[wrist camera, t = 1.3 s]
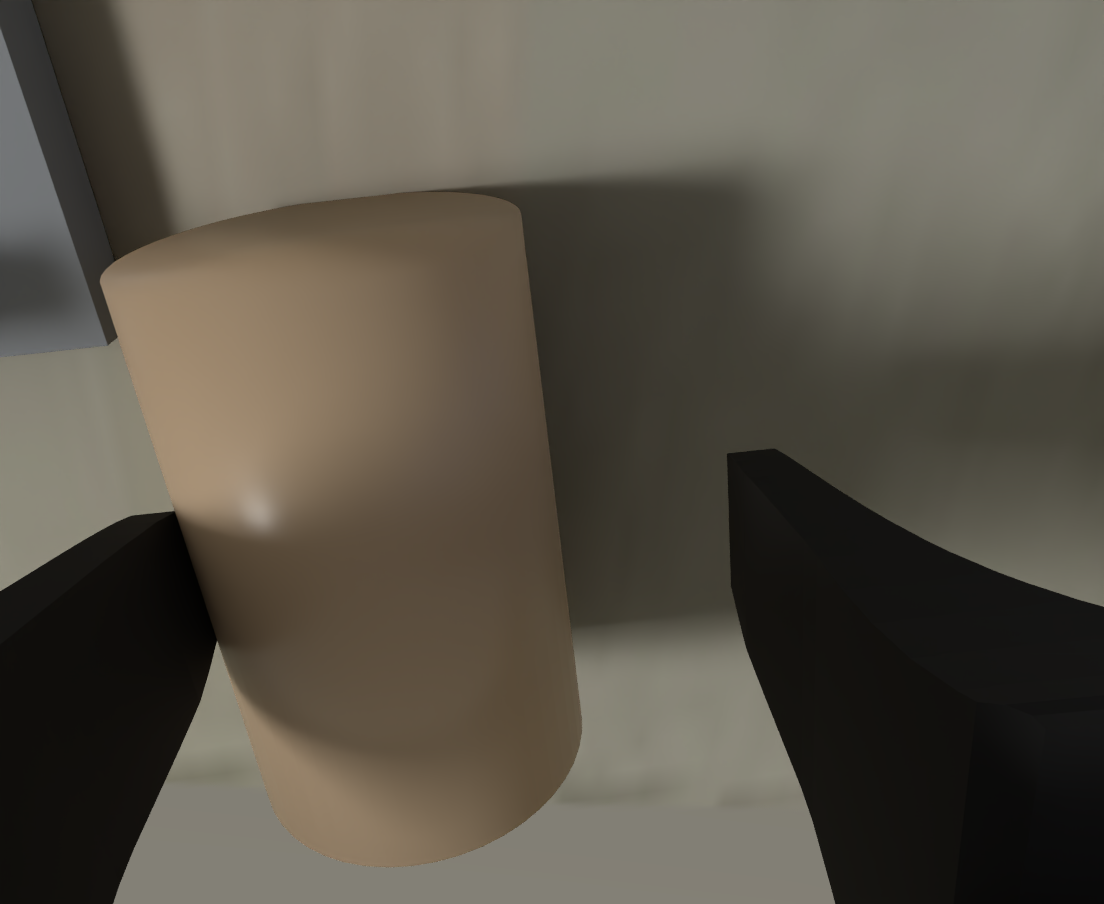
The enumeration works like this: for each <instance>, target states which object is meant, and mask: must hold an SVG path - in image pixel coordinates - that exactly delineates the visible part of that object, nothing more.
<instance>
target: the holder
mask: <svg viewBox="0 0 1104 904" xmlns="http://www.w3.org/2000/svg"><path fill="white" fill-rule="evenodd" d="M114 262H115V260H114V257H113V254H112V251H111V248H110V244H109V241H108V238H107V235H106V232H105V229H104V226H103V223H102V220H101V216H100V213H99V210H98V207H97V204H96V201H95V198H94V195H93V191H92V188H91V185H90V182H89V179H88V176H87V173H86V170H85V167H84V163H83V160H82V157H81V154H80V151H79V148H78V145H77V142H76V138H75V135H74V132H73V129H72V126H71V123H70V120H69V117H68V113H67V110H66V107H65V104H64V101H63V98H62V95H61V92H60V89H59V85H58V82H57V79H56V76H55V73H54V70H53V67H52V64H51V60H50V57H49V54H48V51H47V48H46V45H45V42H44V39H43V36H42V32H41V29H40V26H39V23H38V20H37V17H36V14H35V11H34V7H33V4H32V1H31V0H0V357H7V356H16V355H25V354H34V353H44V352H53V351H62V350H71V349H80V348H90V347H99V346H108V345H109V344H110V343H111V342H113V341H114V340H115V339H116V338H117V337H118V336H117V333H116V330H115V327H114V324H113V321H112V318H111V315H110V312H109V309H108V306H107V303H106V299H105V296H104V293H103V290H102V287H101V284H100V278H101V275H102V274H103V272H104V271H105V270H106V269H107V268H108V267H109V266H110V265H111V264H113V263H114Z"/></svg>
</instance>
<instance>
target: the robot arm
mask: <svg viewBox="0 0 1104 904" xmlns="http://www.w3.org/2000/svg"><path fill="white" fill-rule="evenodd" d="M727 466H728V499H729V533H730V566H731V587H732V592H733V596H734V600H735V604H736V609H737V613H738V617H739V621H740V625H741V629H742V633H743V637H744V641H745V645H746V649H747V652H748V654H749V657H750V659H751V662H752V665H753V667H754V670H755V672H756V675H757V677H758V680H759V683H760V685H761V688H762V690H763V693H764V695H765V698H766V700H767V703H768V705H769V708H770V710H771V713H772V715H773V718H774V721H775V723H776V726H777V728H778V731H779V733H780V736H781V738H782V741H783V743H784V746H785V748H786V751H787V753H788V756H789V758H790V761H791V763H792V766H793V768H794V771H795V773H796V776H797V778H798V781H799V783H800V786H801V788H802V791H803V794H804V797H805V800H806V803H807V806H808V809H809V812H810V815H811V817H812V821H813V824H814V828H815V831H816V835H817V838H818V842H819V846H820V849H821V853H822V857H823V860H824V864H825V867H826V871H827V875H828V878H829V882H830V885H831V889H832V893H833V896H834V900H835V904H1104V607H1102V606H1099V605H1095V604H1091V603H1088V602H1084V601H1081V600H1077V599H1074V598H1071V597H1068V596H1065V595H1062V594H1059V593H1056V592H1053V591H1050V590H1047V589H1044V588H1041V587H1038V586H1035V585H1031V584H1028V583H1025V582H1023V581H1020V580H1017V579H1015V578H1012V577H1009V576H1006V575H1004V574H1001V573H998V572H996V571H993V570H991V569H989V568H986V567H984V566H982V565H979V564H977V563H975V562H972V561H970V560H968V559H965V558H963V557H961V556H958V555H956V554H953V553H951V552H949V551H947V550H945V549H943V548H941V547H938V546H936V545H934V544H932V543H930V542H928V541H926V540H924V539H922V538H920V537H919V536H917V535H915V534H913V533H911V532H909V531H907V530H905V529H904V528H902V527H900V526H898V525H896V524H894V523H892V522H890V521H889V520H887V519H885V518H884V517H882V516H880V515H878V514H877V513H875V512H873V511H871V510H870V509H868V508H866V507H865V506H863V505H862V504H860V503H858V502H857V501H855V500H853V499H852V498H850V497H849V496H847V495H846V494H844V493H842V492H841V491H839V490H838V489H836V488H835V487H833V486H832V485H830V484H829V483H827V482H826V481H824V480H823V479H821V478H820V477H818V476H817V475H815V474H814V473H812V472H811V471H809V470H808V469H806V468H805V467H803V466H802V465H800V464H799V463H797V462H796V461H794V460H793V459H791V458H790V457H788V456H786V455H785V454H783V453H782V452H780V451H778V450H776V449H766V450H756V451H747V452H737V453H728V454H727ZM216 642H217V638H216V635H215V632H214V629H213V626H212V623H211V620H210V617H209V614H208V611H207V608H206V605H205V601H204V598H203V595H202V592H201V589H200V586H199V583H198V580H197V577H196V574H195V571H194V568H193V565H192V562H191V559H190V556H189V553H188V550H187V547H186V544H185V540H184V537H183V534H182V531H181V528H180V525H179V522H178V519H177V516H176V513H175V511H172V512H163V513H153V514H143V515H134V516H130V517H127V518H125V519H123V520H121V521H118V522H116V523H114V524H112V525H110V526H108V527H106V528H105V529H103V530H101V531H99V532H97V533H96V534H94V535H92V536H90V537H89V538H87V539H85V540H83V541H82V542H80V543H78V544H77V545H75V546H73V547H72V548H70V549H68V550H67V551H65V552H64V553H62V554H60V555H59V556H57V557H55V558H54V559H52V560H51V561H49V562H47V563H46V564H44V565H42V566H41V567H39V568H38V569H36V570H34V571H33V572H31V573H29V574H28V575H26V576H25V577H23V578H21V579H20V580H18V581H16V582H15V583H13V584H12V585H10V586H8V587H7V588H5V589H3V590H2V591H0V904H113V902H114V899H115V896H116V893H117V890H118V887H119V884H120V882H121V879H122V877H123V874H124V872H125V869H126V867H127V864H128V862H129V859H130V857H131V854H132V852H133V849H134V847H135V845H136V843H137V841H138V839H139V836H140V834H141V832H142V830H143V828H144V825H145V823H146V821H147V819H148V817H149V814H150V812H151V810H152V808H153V806H154V804H155V801H156V799H157V797H158V795H159V792H160V790H161V788H162V786H163V784H164V782H165V780H166V777H167V775H168V773H169V771H170V769H171V766H172V764H173V762H174V760H175V758H176V756H177V753H178V751H179V749H180V747H181V744H182V742H183V740H184V738H185V735H186V733H187V731H188V729H189V726H190V724H191V722H192V720H193V717H194V715H195V713H196V710H197V708H198V706H199V703H200V700H201V697H202V694H203V690H204V687H205V684H206V680H207V677H208V674H209V670H210V666H211V662H212V658H213V654H214V650H215V646H216Z"/></svg>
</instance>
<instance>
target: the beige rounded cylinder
mask: <svg viewBox="0 0 1104 904" xmlns="http://www.w3.org/2000/svg"><path fill="white" fill-rule="evenodd" d="M100 284H101V287H102V290H103V293H104V296H105V299H106V303H107V306H108V309H109V312H110V315H111V318H112V321H113V324H114V327H115V330H116V333H117V336H118V339H119V342H120V345H121V348H122V351H123V354H124V357H125V360H126V364H127V367H128V370H129V373H130V376H131V379H132V382H133V385H134V388H135V391H136V394H137V397H138V400H139V403H140V406H141V409H142V412H143V415H144V418H145V421H146V425H147V428H148V431H149V434H150V437H151V440H152V443H153V446H154V449H155V452H156V455H157V458H158V461H159V464H160V467H161V470H162V473H163V476H164V479H165V483H166V486H167V489H168V492H169V495H170V498H171V501H172V504H173V507H174V510H175V513H176V516H177V519H178V522H179V525H180V528H181V531H182V534H183V537H184V540H185V544H186V547H187V550H188V553H189V556H190V559H191V562H192V565H193V568H194V571H195V574H196V577H197V580H198V583H199V586H200V589H201V592H202V595H203V598H204V601H205V605H206V608H207V611H208V614H209V617H210V620H211V623H212V626H213V629H214V632H215V635H216V638H217V641H218V644H219V647H220V650H221V653H222V656H223V659H224V663H225V666H226V669H227V672H228V675H229V678H230V681H231V684H232V687H233V690H234V693H235V696H236V699H237V702H238V705H239V708H240V711H241V714H242V717H243V720H244V724H245V727H246V730H247V733H248V736H249V739H250V742H251V745H252V748H253V751H254V754H255V757H256V760H257V763H258V766H259V769H260V772H261V775H262V778H263V781H264V785H265V788H266V791H267V794H268V797H269V799H270V802H271V805H272V808H273V810H274V813H275V814H276V816H277V817H278V819H279V821H280V822H281V824H282V825H283V826H284V827H285V828H286V829H287V830H288V832H289V833H290V834H291V835H292V836H293V837H294V838H296V839H297V840H298V841H300V842H301V843H303V844H304V845H305V846H307V847H308V848H310V849H312V850H314V851H316V852H318V853H320V854H322V855H324V856H327V857H330V858H333V859H336V860H339V861H342V862H346V863H352V864H357V865H362V866H374V867H402V866H414V865H421V864H427V863H433V862H438V861H441V860H445V859H448V858H452V857H456V856H459V855H462V854H465V853H467V852H470V851H472V850H475V849H477V848H480V847H483V846H484V845H486V844H488V843H490V842H492V841H494V840H496V839H498V838H500V837H502V836H504V835H505V834H507V833H508V832H510V831H512V830H513V829H515V828H516V827H518V826H519V825H521V824H522V823H523V822H525V821H526V820H527V819H528V818H530V817H531V816H532V815H533V814H534V813H536V812H537V811H538V810H539V809H540V808H541V807H542V806H543V805H544V804H545V803H546V802H547V801H548V800H549V799H550V798H551V797H552V796H553V795H554V793H555V792H556V791H557V789H558V788H559V787H560V785H561V784H562V783H563V781H564V780H565V778H566V777H567V775H568V773H569V771H570V769H571V767H572V765H573V764H574V761H575V758H576V755H577V752H578V749H579V746H580V740H581V734H582V716H581V708H580V700H579V691H578V683H577V675H576V666H575V658H574V650H573V641H572V633H571V625H570V616H569V608H568V600H567V591H566V583H565V575H564V566H563V558H562V550H561V541H560V533H559V525H558V517H557V508H556V500H555V492H554V483H553V475H552V467H551V458H550V450H549V442H548V433H547V425H546V417H545V408H544V400H543V392H542V383H541V375H540V367H539V358H538V350H537V342H536V333H535V325H534V317H533V308H532V300H531V292H530V283H529V275H528V267H527V259H526V250H525V242H524V234H523V225H522V217H521V212H520V210H519V208H518V207H516V206H515V205H514V204H512V203H510V202H508V201H506V200H503V199H500V198H496V197H492V196H486V195H480V194H471V193H458V192H408V193H396V194H387V195H378V196H369V197H360V198H351V199H342V200H333V201H324V202H315V203H306V204H299V205H293V206H287V207H282V208H277V209H272V210H267V211H262V212H257V213H252V214H248V215H243V216H239V217H235V218H231V219H227V220H223V221H219V222H215V223H211V224H208V225H204V226H201V227H197V228H194V229H190V230H187V231H184V232H181V233H178V234H175V235H172V236H169V237H166V238H164V239H161V240H158V241H155V242H153V243H151V244H148V245H146V246H143V247H141V248H139V249H137V250H135V251H133V252H131V253H129V254H127V255H125V256H123V257H122V258H120V259H118V260H117V261H115V262H114V263H113V264H111V265H110V266H109V267H108V268H107V269H106V270H105V271H104V272H103V274H102V275H101V278H100Z"/></svg>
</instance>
